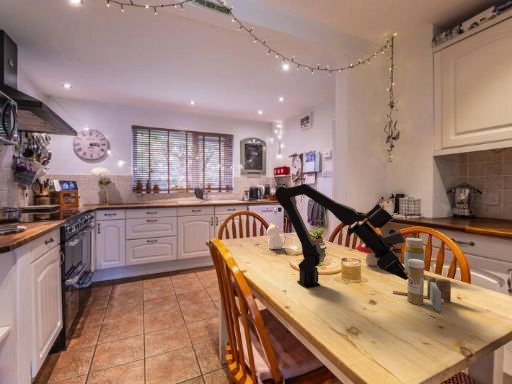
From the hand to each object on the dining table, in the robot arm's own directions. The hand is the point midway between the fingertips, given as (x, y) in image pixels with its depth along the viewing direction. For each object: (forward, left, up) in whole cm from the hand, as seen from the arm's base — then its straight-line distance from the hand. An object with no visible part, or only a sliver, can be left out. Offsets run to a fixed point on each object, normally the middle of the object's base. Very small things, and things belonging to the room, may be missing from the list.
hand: (405, 274), depth 83 cm
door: (+5, -7, -8) cm, 12 cm away
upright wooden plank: (+7, 0, -8) cm, 11 cm away
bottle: (+27, +14, -9) cm, 31 cm away
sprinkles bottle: (+2, -2, -9) cm, 9 cm away
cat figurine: (-4, +77, -9) cm, 78 cm away
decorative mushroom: (+21, +30, -9) cm, 38 cm away
